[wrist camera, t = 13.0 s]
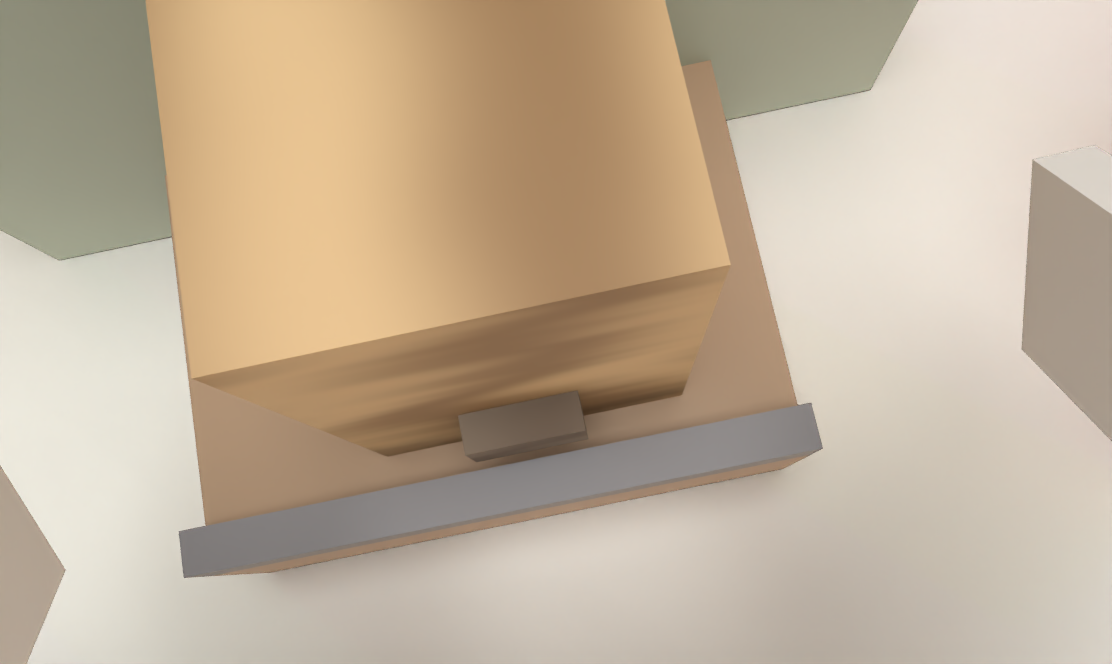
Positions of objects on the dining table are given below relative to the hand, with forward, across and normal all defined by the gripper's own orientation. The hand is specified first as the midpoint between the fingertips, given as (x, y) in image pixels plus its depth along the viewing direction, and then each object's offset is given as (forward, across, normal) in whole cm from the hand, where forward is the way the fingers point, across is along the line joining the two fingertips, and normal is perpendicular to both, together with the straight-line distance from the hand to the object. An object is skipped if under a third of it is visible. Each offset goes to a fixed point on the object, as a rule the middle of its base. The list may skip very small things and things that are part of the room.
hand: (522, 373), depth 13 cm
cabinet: (+11, 0, -5) cm, 12 cm away
